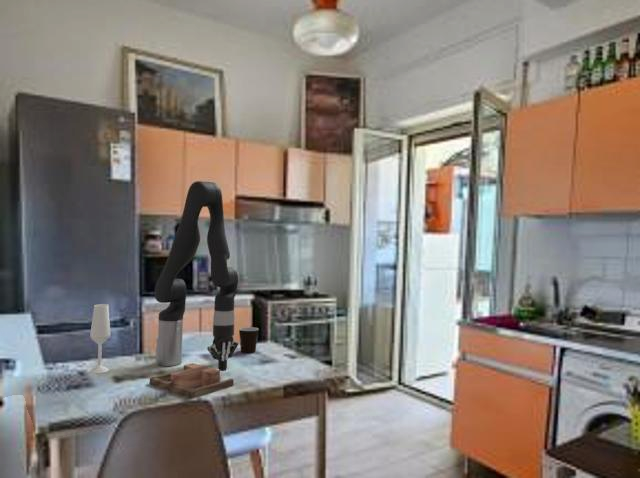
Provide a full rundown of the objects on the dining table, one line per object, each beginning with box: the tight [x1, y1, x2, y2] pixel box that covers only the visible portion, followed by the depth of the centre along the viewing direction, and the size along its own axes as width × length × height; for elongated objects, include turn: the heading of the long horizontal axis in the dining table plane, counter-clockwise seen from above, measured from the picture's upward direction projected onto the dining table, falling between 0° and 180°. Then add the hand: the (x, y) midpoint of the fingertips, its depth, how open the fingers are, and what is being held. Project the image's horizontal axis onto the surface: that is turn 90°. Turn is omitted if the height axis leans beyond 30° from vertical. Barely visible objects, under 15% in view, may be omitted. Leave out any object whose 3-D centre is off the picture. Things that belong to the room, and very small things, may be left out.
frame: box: [149, 369, 234, 399], centre depth 156 cm, size 22×18×2 cm
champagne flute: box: [88, 303, 111, 374], centre depth 170 cm, size 7×7×24 cm
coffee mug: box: [238, 326, 259, 354], centre depth 206 cm, size 12×9×10 cm
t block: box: [170, 362, 221, 389], centre depth 156 cm, size 14×13×5 cm
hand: (222, 370), depth 167 cm, fingers closed
